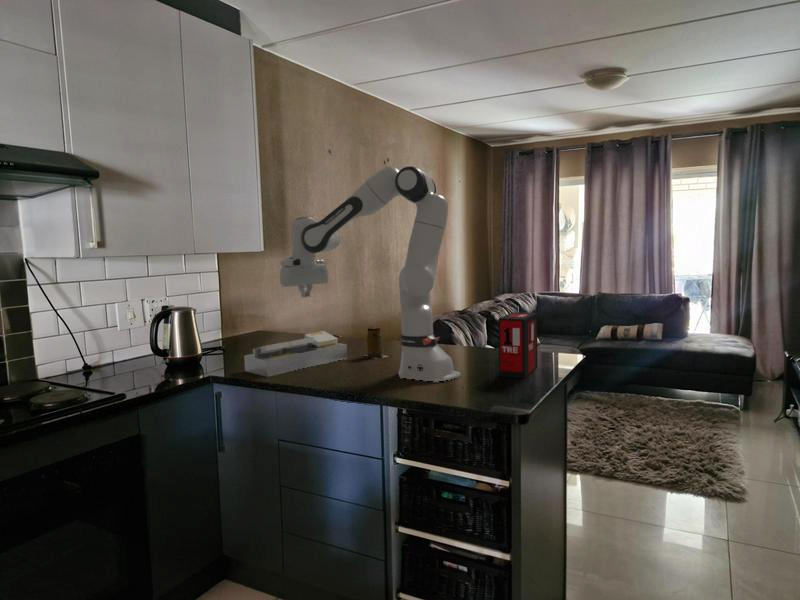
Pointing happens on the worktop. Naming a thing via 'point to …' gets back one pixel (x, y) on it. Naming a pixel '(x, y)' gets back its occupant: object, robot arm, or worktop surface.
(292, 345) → the rocker
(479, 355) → the worktop surface
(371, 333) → the condiment
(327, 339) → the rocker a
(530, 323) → the cleaning product box
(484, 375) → the worktop surface
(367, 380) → the worktop surface
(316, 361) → the switch unit
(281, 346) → the rocker
